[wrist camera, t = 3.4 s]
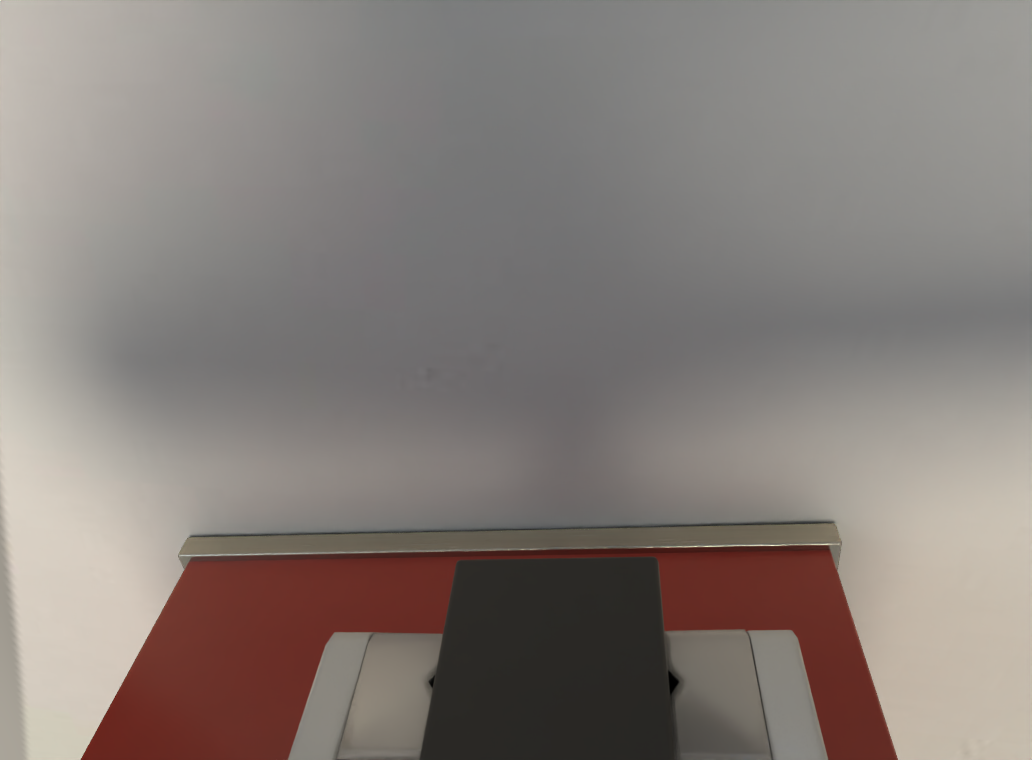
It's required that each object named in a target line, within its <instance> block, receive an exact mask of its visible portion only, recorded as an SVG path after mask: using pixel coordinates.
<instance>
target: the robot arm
mask: <svg viewBox="0 0 1032 760" xmlns="http://www.w3.org/2000/svg"><path fill="white" fill-rule="evenodd" d="M442 636H443V634H431V633H378V632H334V634H333V635H332V636H331V638H330V639H329V641H328V642H327V644H326V645H325V648H324V651H323V654H322V657H321V660H320V663H319V666H318V669H317V672H316V675H315V679H314V682H313V685H312V688H311V691H310V694H309V697H308V700H307V703H306V706H305V709H304V712H303V715H302V718H301V721H300V724H299V727H298V730H297V733H296V736H295V739H294V742H293V745H292V749H291V752H290V755H289V758H288V760H419V759H420V754H421V749H422V743H423V738H424V733H425V727H426V722H427V716H428V711H429V706H430V700H431V695H432V690H433V684H434V679H435V674H436V668H437V663H438V657H439V652H440V647H441V641H442ZM665 642H666V654H667V666H668V678H669V689H670V701H671V713H672V724H673V736H674V748H675V759H676V760H828V757H827V753H826V749H825V745H824V741H823V737H822V733H821V729H820V725H819V721H818V717H817V713H816V709H815V705H814V701H813V697H812V693H811V689H810V685H809V681H808V677H807V673H806V669H805V665H804V661H803V657H802V653H801V649H800V645H799V641H798V638H797V637H796V635H795V634H794V632H793V631H792V630H751V631H745V629H734V630H686V631H665Z"/></svg>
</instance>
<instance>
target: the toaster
mask: <svg viewBox="0 0 1032 760" xmlns="http://www.w3.org/2000/svg"><path fill="white" fill-rule="evenodd" d="M841 545H842V542H841V539H840V536H839V533H838V530H837V527H836V525H835V524H834V523H816V524H771V525H725V526H680V527H634V528H588V529H543V530H497V531H451V532H406V533H360V534H315V535H269V536H223V537H189V538H187V540H186V542H185V543H184V545H183V547H182V549H181V550H180V552H179V554H178V557H179V559H180V561H181V563H182V566H183V568H184V571H183V573H182V575H181V577H180V579H179V581H178V582H177V584H176V586H175V588H174V590H173V592H172V593H171V595H170V597H169V599H168V601H167V603H166V604H165V606H164V608H163V610H162V612H161V614H160V615H159V617H158V619H157V621H156V623H155V625H154V626H153V628H152V630H151V632H150V634H149V636H148V637H147V639H146V641H145V643H144V645H143V647H142V648H141V650H140V652H139V654H138V656H137V658H136V659H135V661H134V663H133V665H132V667H131V669H130V670H129V672H128V674H127V676H126V678H125V679H124V681H123V683H122V685H121V687H120V689H119V690H118V692H117V694H116V696H115V698H114V700H113V701H112V703H111V705H110V707H109V709H108V711H107V712H106V714H105V716H104V718H103V720H102V722H101V723H100V725H99V727H98V729H97V731H96V733H95V734H94V736H93V738H92V740H91V742H90V744H89V745H88V747H87V749H86V751H85V753H84V755H83V756H82V758H81V760H288V758H289V755H290V752H291V749H292V745H293V742H294V739H295V736H296V733H297V730H298V727H299V724H300V721H301V718H302V715H303V712H304V709H305V706H306V703H307V700H308V697H309V694H310V691H311V688H312V685H313V682H314V679H315V675H316V672H317V669H318V666H319V663H320V660H321V657H322V654H323V651H324V648H325V645H326V644H327V642H328V641H329V639H330V638H331V636H332V635H333V634H334V632H378V633H431V634H443V631H444V625H445V620H446V615H447V609H448V604H449V598H450V593H451V588H452V582H453V577H454V572H455V566H456V563H457V561H459V560H475V559H532V558H590V557H648V556H653V557H656V558H657V560H658V562H659V572H660V584H661V596H662V607H663V619H664V631H686V630H734V629H745V631H751V630H792V631H793V632H794V634H795V635H796V637H797V638H798V641H799V645H800V649H801V653H802V657H803V661H804V665H805V669H806V673H807V677H808V681H809V685H810V689H811V693H812V697H813V701H814V705H815V709H816V713H817V717H818V721H819V725H820V729H821V733H822V737H823V741H824V745H825V749H826V753H827V757H828V760H898V758H897V755H896V752H895V749H894V746H893V743H892V740H891V736H890V733H889V730H888V727H887V724H886V721H885V718H884V715H883V712H882V708H881V705H880V702H879V699H878V696H877V693H876V690H875V687H874V684H873V680H872V677H871V674H870V671H869V668H868V665H867V662H866V659H865V656H864V653H863V649H862V646H861V643H860V640H859V637H858V634H857V631H856V628H855V625H854V621H853V618H852V615H851V612H850V609H849V606H848V603H847V600H846V597H845V594H844V590H843V587H842V584H841V581H840V578H839V575H838V572H837V569H838V563H839V557H840V551H841Z"/></svg>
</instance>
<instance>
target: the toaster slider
mask: <svg viewBox="0 0 1032 760" xmlns="http://www.w3.org/2000/svg"><path fill="white" fill-rule="evenodd" d="M419 760H676V759H675V748H674V736H673V724H672V713H671V701H670V689H669V678H668V666H667V654H666V642H665V631H664V619H663V607H662V596H661V584H660V572H659V562H658V560H657V558H656V557H653V556H648V557H590V558H532V559H475V560H459V561H457V563H456V566H455V572H454V577H453V582H452V588H451V593H450V598H449V604H448V609H447V615H446V620H445V625H444V631H443V636H442V641H441V647H440V652H439V657H438V663H437V668H436V674H435V679H434V684H433V690H432V695H431V700H430V706H429V711H428V716H427V722H426V727H425V733H424V738H423V743H422V749H421V754H420V759H419Z"/></svg>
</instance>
